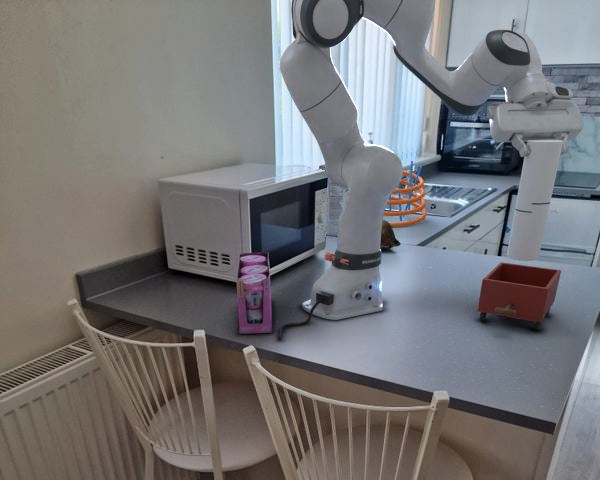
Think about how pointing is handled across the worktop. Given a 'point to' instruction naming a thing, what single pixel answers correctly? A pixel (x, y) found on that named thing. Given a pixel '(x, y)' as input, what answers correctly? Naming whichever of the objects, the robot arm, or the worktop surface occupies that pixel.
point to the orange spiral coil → (408, 201)
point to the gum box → (254, 293)
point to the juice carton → (334, 205)
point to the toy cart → (519, 292)
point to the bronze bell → (388, 236)
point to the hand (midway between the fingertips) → (544, 154)
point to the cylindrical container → (534, 199)
